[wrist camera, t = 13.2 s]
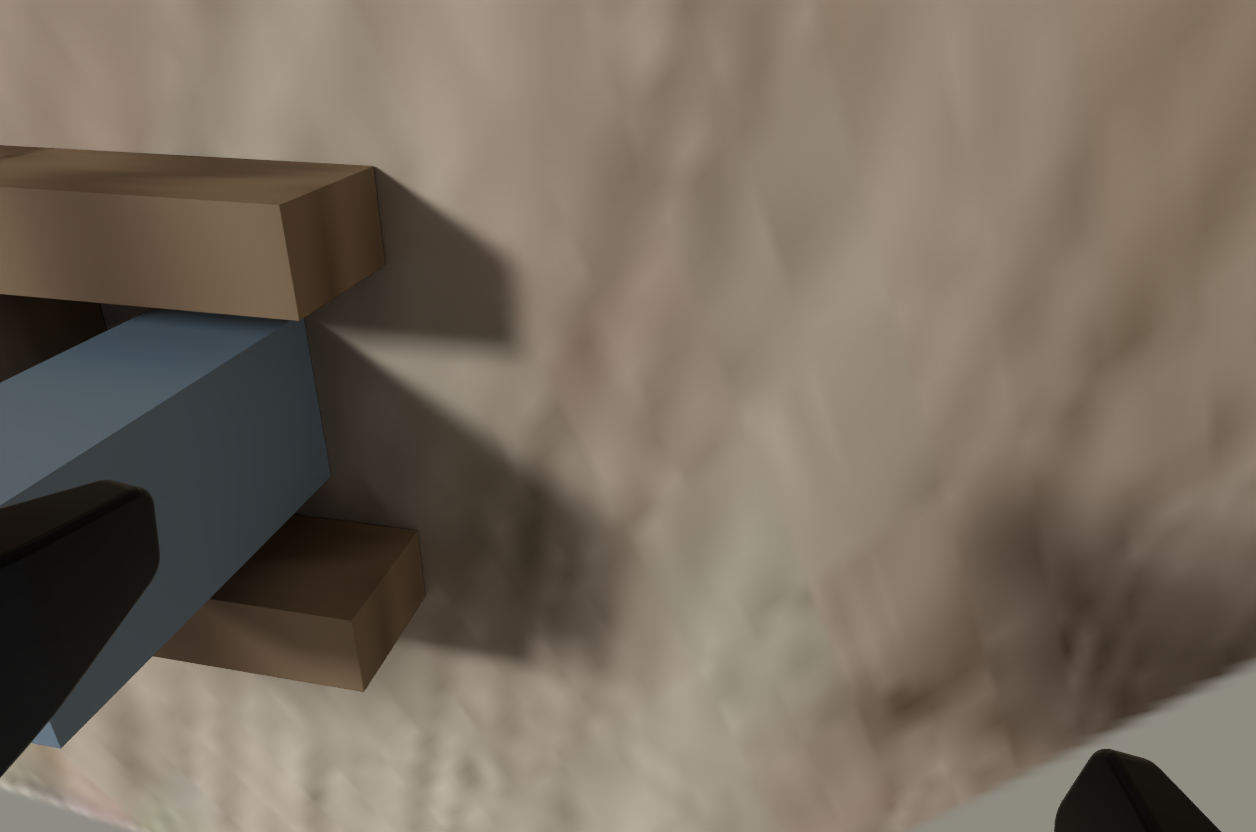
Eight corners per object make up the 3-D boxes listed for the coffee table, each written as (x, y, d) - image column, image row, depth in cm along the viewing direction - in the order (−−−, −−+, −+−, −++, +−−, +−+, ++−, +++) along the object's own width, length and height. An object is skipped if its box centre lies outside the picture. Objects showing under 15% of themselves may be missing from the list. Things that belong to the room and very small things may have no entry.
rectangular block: (302, 313, 22) (-32, 525, 14) (330, 476, 25) (60, 748, 16) (167, 301, 23) (-233, 496, 14) (207, 461, 25) (-118, 714, 17)
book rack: (373, 166, 20) (278, 205, 17) (425, 596, 26) (364, 691, 22) (0, 145, 22) (-157, 176, 18) (127, 552, 28) (27, 635, 24)
